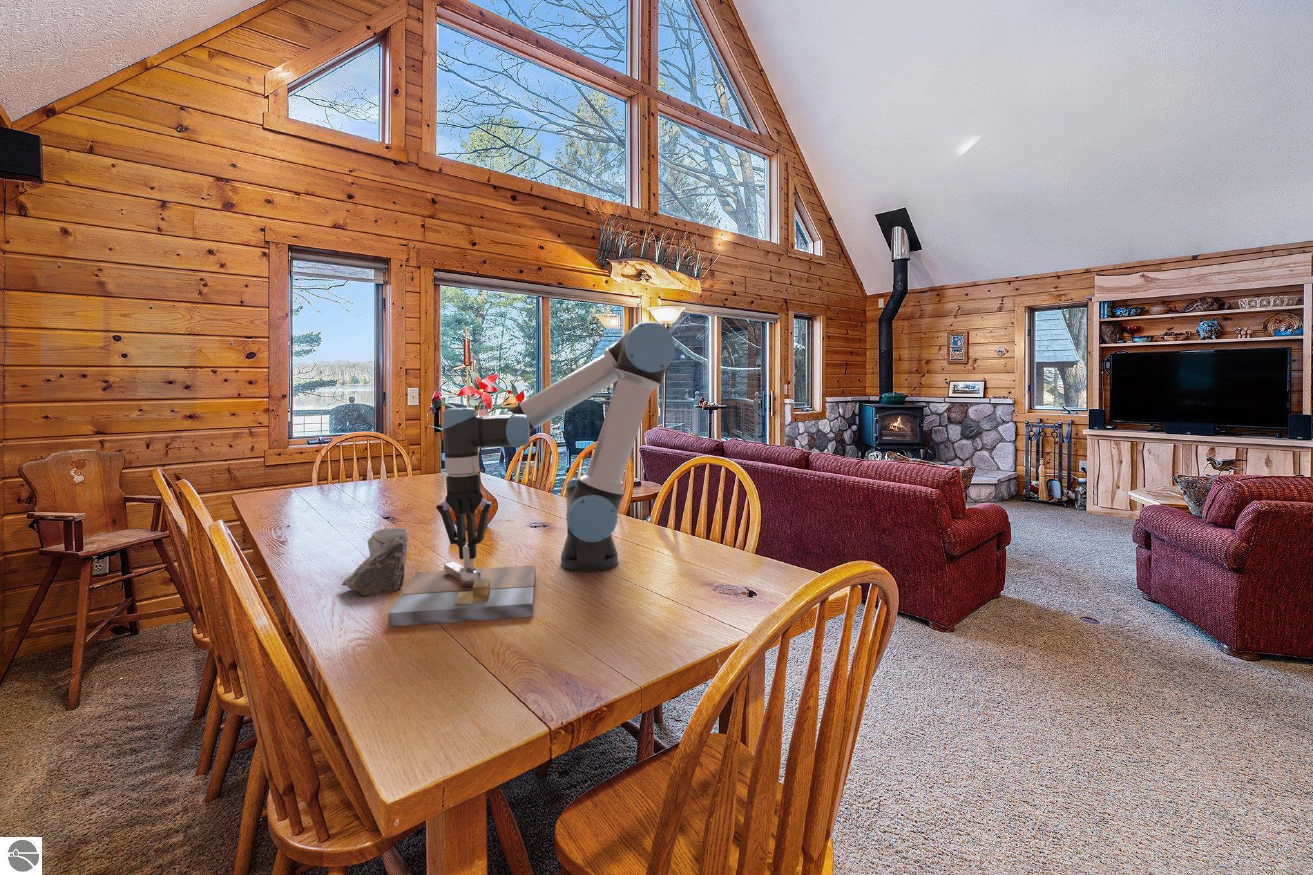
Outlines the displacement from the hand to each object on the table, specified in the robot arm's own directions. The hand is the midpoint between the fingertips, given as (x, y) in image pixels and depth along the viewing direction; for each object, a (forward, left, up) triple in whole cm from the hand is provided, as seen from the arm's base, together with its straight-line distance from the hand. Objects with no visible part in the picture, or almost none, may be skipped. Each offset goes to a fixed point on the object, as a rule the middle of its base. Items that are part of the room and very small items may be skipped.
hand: (468, 571), depth 140 cm
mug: (+23, -17, -4) cm, 28 cm away
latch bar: (+1, +3, 0) cm, 4 cm away
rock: (+22, -3, -4) cm, 22 cm away
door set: (-1, +8, -3) cm, 9 cm away
